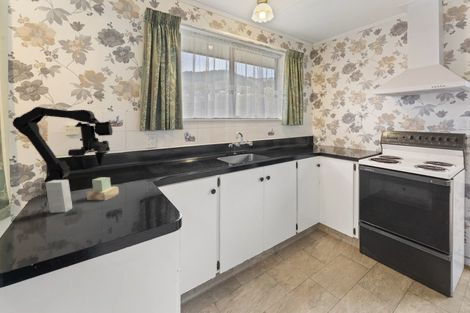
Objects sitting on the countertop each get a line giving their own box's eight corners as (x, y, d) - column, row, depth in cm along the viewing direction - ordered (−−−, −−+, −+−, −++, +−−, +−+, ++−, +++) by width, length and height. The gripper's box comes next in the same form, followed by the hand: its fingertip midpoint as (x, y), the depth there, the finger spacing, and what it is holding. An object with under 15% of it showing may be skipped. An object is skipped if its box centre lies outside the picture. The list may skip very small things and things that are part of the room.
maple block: (87, 200, 102) (86, 191, 101) (102, 194, 110) (101, 186, 110) (105, 201, 100) (104, 192, 99) (118, 194, 109) (118, 186, 108)
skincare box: (73, 208, 91) (69, 179, 89) (65, 212, 87) (61, 182, 85) (57, 208, 91) (53, 179, 89) (49, 213, 87) (44, 182, 85)
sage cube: (93, 190, 103) (92, 179, 102) (102, 187, 107) (100, 177, 107) (102, 191, 101) (101, 180, 101) (111, 187, 106) (109, 177, 105)
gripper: (84, 137, 99) (88, 172, 102) (116, 134, 117) (119, 164, 120) (65, 137, 102) (69, 171, 105) (99, 135, 120) (102, 163, 123)
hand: (92, 167), depth 113 cm, fingers open, 9 cm apart
